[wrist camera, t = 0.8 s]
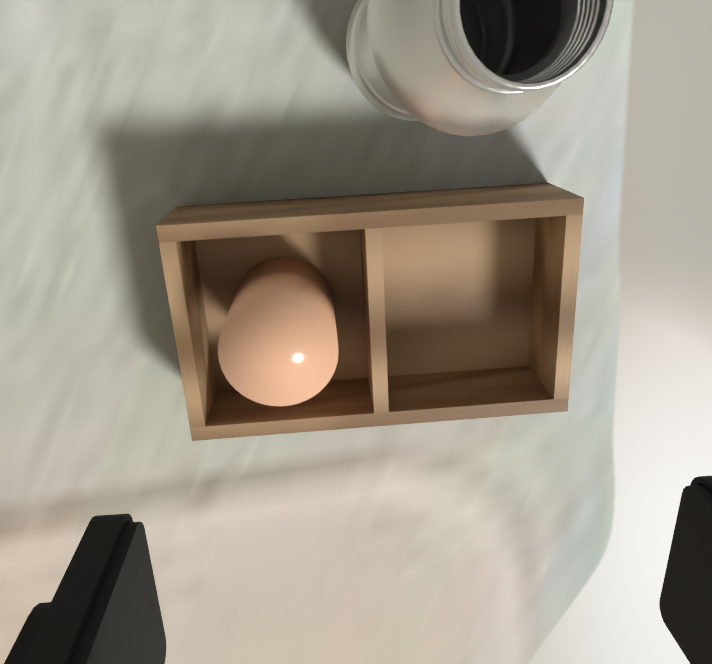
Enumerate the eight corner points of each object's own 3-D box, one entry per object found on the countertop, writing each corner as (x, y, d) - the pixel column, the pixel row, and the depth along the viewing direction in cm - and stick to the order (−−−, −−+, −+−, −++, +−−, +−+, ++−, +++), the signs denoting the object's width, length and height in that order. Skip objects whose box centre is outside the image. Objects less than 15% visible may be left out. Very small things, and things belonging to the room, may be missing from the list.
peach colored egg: (228, 260, 35) (210, 300, 29) (330, 253, 35) (334, 291, 29) (241, 353, 37) (226, 410, 31) (336, 346, 37) (342, 401, 31)
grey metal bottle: (369, 136, 34) (439, 202, 15) (323, 2, 31) (340, -116, 13) (485, 92, 33) (702, 103, 15) (447, -48, 31) (652, -246, 12)
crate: (176, 206, 34) (155, 226, 30) (548, 182, 35) (583, 198, 31) (206, 397, 39) (192, 440, 34) (537, 372, 40) (567, 411, 35)
